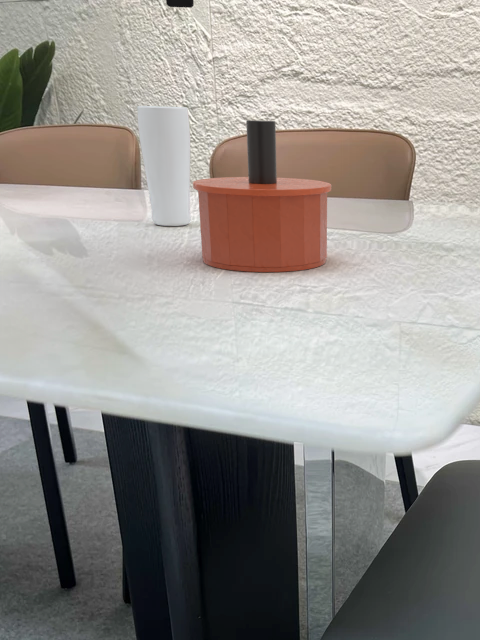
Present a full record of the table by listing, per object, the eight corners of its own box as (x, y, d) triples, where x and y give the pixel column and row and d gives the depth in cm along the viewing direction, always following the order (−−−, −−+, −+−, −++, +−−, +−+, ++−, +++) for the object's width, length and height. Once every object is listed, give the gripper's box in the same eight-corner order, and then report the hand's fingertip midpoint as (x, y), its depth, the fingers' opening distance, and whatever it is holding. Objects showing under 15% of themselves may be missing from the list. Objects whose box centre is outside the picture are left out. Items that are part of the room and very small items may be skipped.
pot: (232, 276, 77) (228, 197, 74) (185, 254, 88) (180, 184, 84) (348, 266, 84) (349, 193, 81) (291, 247, 94) (290, 181, 91)
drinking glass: (172, 229, 105) (162, 106, 99) (137, 224, 108) (125, 105, 102) (206, 224, 110) (199, 107, 104) (171, 219, 113) (162, 106, 107)
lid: (225, 204, 74) (221, 121, 71) (174, 189, 85) (168, 117, 82) (356, 199, 81) (358, 124, 78) (293, 186, 92) (292, 120, 89)
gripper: (144, -164, 89) (158, 9, 96) (89, -222, 73) (111, -10, 81) (209, -163, 88) (217, 11, 96) (167, -221, 73) (182, -8, 80)
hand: (169, 1), depth 88 cm, fingers open, 9 cm apart
